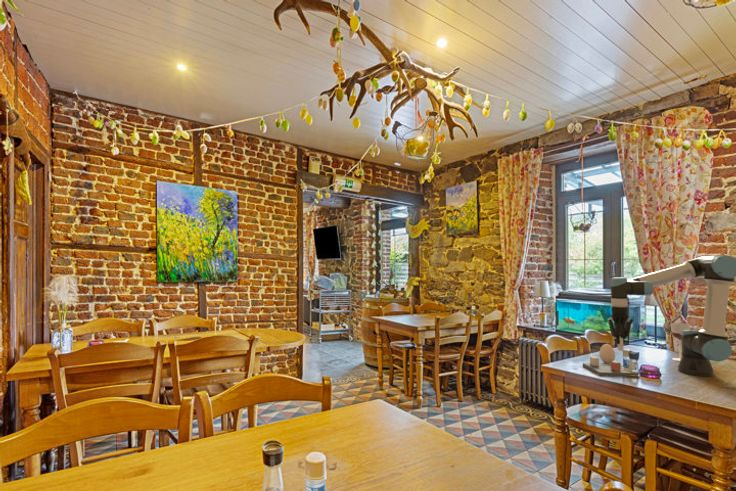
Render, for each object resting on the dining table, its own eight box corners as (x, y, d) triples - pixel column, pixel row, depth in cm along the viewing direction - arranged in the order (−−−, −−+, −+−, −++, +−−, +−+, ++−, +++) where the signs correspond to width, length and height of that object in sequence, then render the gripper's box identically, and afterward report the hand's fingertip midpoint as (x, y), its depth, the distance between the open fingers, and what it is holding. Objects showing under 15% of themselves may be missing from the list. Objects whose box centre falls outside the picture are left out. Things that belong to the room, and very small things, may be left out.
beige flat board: (618, 367, 225) (618, 363, 225) (638, 377, 207) (638, 373, 208) (582, 366, 226) (582, 362, 226) (599, 376, 208) (599, 372, 208)
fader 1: (595, 363, 224) (595, 356, 224) (599, 365, 220) (599, 358, 220) (589, 363, 224) (589, 356, 224) (593, 365, 220) (593, 358, 220)
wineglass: (693, 361, 240) (693, 325, 240) (677, 361, 240) (677, 325, 240) (682, 357, 248) (682, 322, 249) (667, 357, 248) (666, 322, 249)
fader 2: (616, 368, 214) (616, 360, 214) (620, 370, 210) (620, 362, 210) (610, 368, 215) (610, 360, 215) (614, 370, 211) (614, 362, 211)
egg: (598, 361, 239) (598, 342, 239) (613, 362, 236) (613, 343, 236) (600, 364, 231) (600, 344, 232) (616, 366, 228) (616, 346, 229)
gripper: (627, 305, 217) (628, 348, 216) (603, 305, 217) (604, 348, 217) (636, 306, 209) (637, 351, 208) (610, 306, 210) (612, 351, 209)
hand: (620, 350), depth 213 cm, fingers closed
